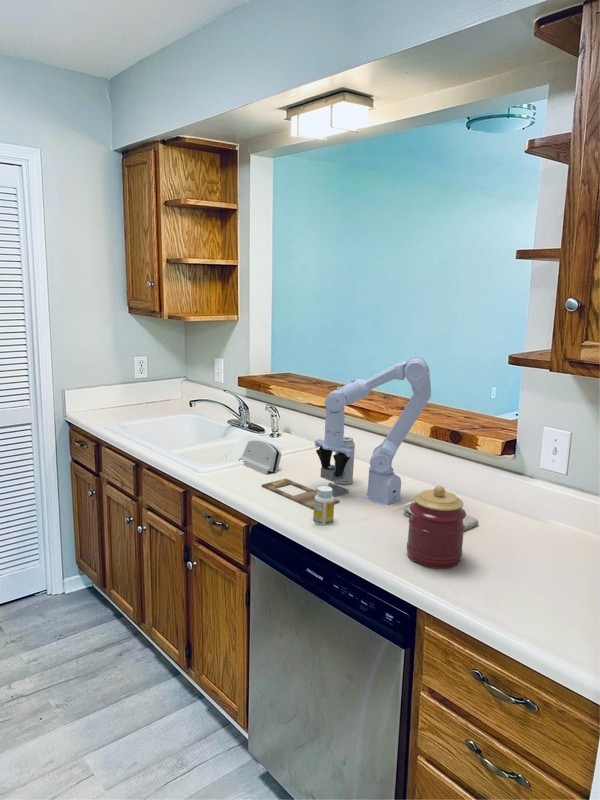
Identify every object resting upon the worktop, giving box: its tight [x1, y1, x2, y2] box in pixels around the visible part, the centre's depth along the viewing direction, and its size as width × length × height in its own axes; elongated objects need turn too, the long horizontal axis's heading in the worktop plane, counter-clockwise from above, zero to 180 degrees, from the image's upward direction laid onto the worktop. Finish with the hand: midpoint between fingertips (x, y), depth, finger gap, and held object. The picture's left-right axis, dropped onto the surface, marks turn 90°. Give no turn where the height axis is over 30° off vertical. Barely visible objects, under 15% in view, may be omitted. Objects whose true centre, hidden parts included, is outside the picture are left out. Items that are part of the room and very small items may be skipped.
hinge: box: [238, 440, 282, 476], centre depth 201 cm, size 17×5×10 cm, turn 41°
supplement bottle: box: [312, 485, 335, 527], centre depth 156 cm, size 5×5×10 cm
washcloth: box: [403, 506, 480, 531], centre depth 161 cm, size 12×18×3 cm, turn 43°
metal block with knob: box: [320, 464, 344, 483], centre depth 177 cm, size 5×5×4 cm
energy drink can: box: [334, 436, 356, 486], centre depth 186 cm, size 6×6×15 cm
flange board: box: [261, 478, 341, 511], centre depth 175 cm, size 24×10×2 cm, turn 42°
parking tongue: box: [314, 482, 350, 498], centre depth 179 cm, size 8×7×2 cm
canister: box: [406, 485, 467, 569], centre depth 137 cm, size 13×13×18 cm
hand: (332, 474), depth 177 cm, fingers closed on metal block with knob, 5 cm apart
